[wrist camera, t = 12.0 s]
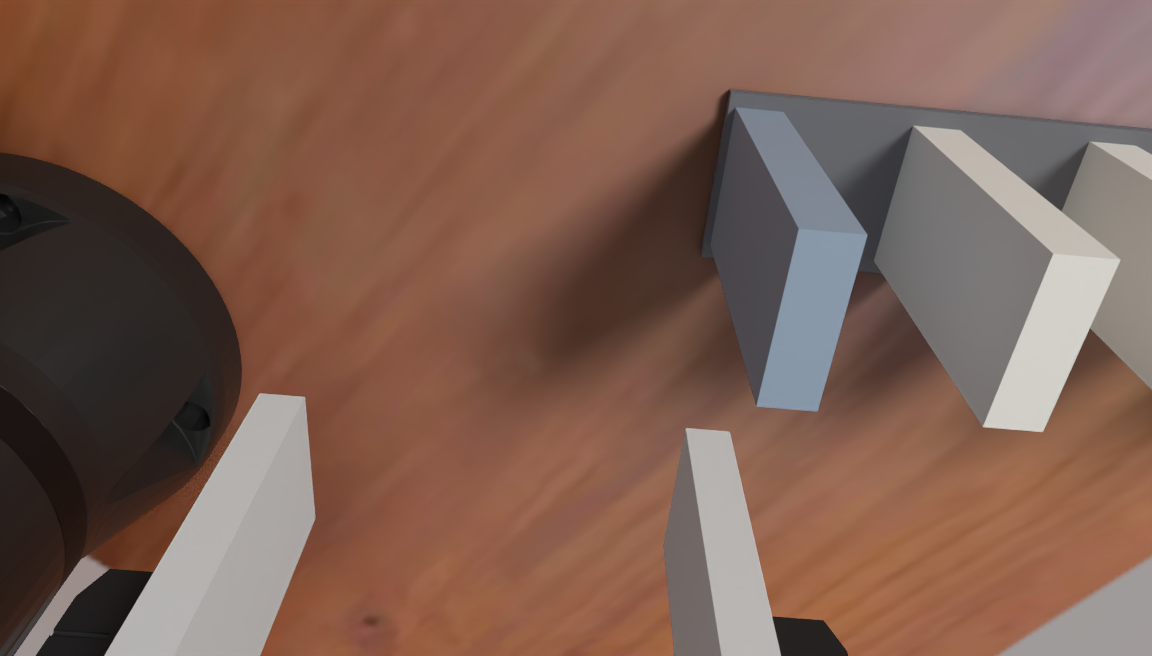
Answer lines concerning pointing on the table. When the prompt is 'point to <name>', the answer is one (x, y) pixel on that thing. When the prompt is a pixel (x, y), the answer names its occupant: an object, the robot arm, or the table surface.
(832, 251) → the blue-grey tile
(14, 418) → the robot arm
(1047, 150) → the strip
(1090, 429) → the table surface
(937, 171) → the tile
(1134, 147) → the tile
